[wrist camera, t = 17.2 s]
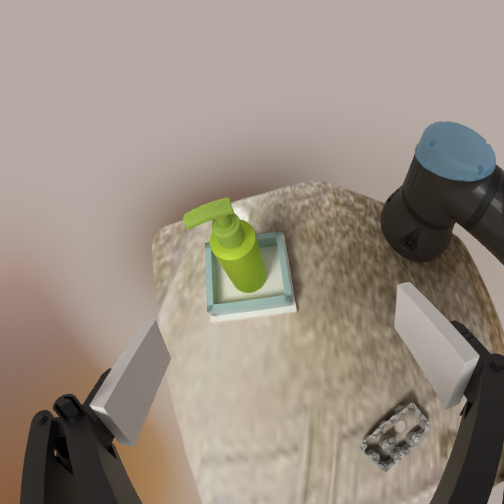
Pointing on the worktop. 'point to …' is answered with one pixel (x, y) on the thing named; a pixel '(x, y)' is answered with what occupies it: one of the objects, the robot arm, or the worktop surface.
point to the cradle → (257, 303)
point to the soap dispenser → (231, 244)
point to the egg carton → (390, 442)
